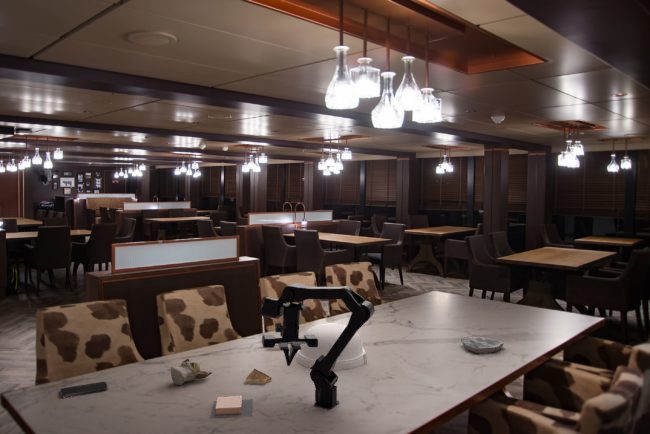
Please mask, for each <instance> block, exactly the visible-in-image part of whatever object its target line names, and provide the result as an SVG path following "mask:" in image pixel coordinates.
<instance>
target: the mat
mask: <svg viewBox="0 0 650 434" xmlns="http://www.w3.org/2000/svg"><path fill="white" fill-rule="evenodd" d="M253 402H254V400H253V399H252V398H251V399H250V398H249V399H242V409H241V413H240V414H222V415H216V404H217V400H214V401H213V404H212V409H211V413H210V414H211V415H210V419H223V418H241V417H242V418H243V417H244V418H245V417H253V407H254V406H253Z"/></svg>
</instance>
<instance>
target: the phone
mask: <svg viewBox="0 0 650 434" xmlns="http://www.w3.org/2000/svg"><path fill="white" fill-rule="evenodd" d="M59 389H60V390H59V397H66V398H70V397H69V396H72V397H78V396H83V395H90V394H95V393H100V392H101V393H103V392H106V391H108V384H107V382H106V381H100V382H94V383H87V384H86V383H85V384H81V385H75V386H67V387H62V388H59ZM77 395H78V396H77Z"/></svg>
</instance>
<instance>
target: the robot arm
mask: <svg viewBox="0 0 650 434" xmlns="http://www.w3.org/2000/svg"><path fill="white" fill-rule="evenodd" d="M307 300H341V302H343V303H344V306H346V308H347V309H348V310H349V312H351V315H350V317H349V319H348V321H347V322H348V323H347V325H346V328H345V329H344V331H343V332H342V333H341V335H340V336H339V338H338V339H337V341H336V342H335V343H334V345H333V346H332V348H331V349H330V351H329V352H328V353H327V355H326V356H324V355H323V354H322V355H321V356H320V357H318V358H317V359H316V361H315V363H314V365H313V366H312V367H311V368H309V369H310V372H309V377H310V379H311V381H312V382H313V384H314V388H315V390H314V391H315V392H314V403H313V406H315V407H318V408H319V407H320V408H324V409H328V410H331V409H333V408H334V407H335V406H337V405H338V404H339V403H340V401H339V400H338V390H337V389H338V386H337V385H336V384H337V382H338V379H339V376H338V375H337V373H336V372H335V370H333V369H334V367H335V364H336V361H337V359H338V358H339V356H340V355H341V353H342V352H343V350H344V349H345V348H346V346H347V345H348V343H349V342H350V341H351V339H352V338H353V336H354V335H355V333H356V332H357V333H358V331H359V330H360V329H361V327H362V326H364V325H365V324H366V323H367V322H369V320H370V319H371V318H372V316H374V314H375V310H376V309H375V306H374V304H373V303H372V302H370V301H368V300H366V299H365V297H364V296H362V295H360V294H358V293H357V292H356V291H354V290H353V289H352V287H350V286H349V285H345V286H309V285H306V284H304V283H298V282H297V283H296V282H295V283H291V284H289V285H287V286H285V287H284V288H283V290H282V292H281V295H280V296H279V298H272V297H269V296H267V297H264V301H263V303H262V305H261V309H260V314H261V317H264V318H270V319H275V320H279V319H280V318H281V317H282V323H281V322H275V326H274V330H275V333H280V337H275V335H274V334H263V335H262V337H261V345H262V348H264V349H267V348H268V349H270V348H271V349H273V348H274V347H275V346H276V345H277V344H278V348H279V350H280V351H283V353H284V357H285V362H286V366H288V367H289V366H291V364H292V362H293V361H294V358H295V357H296V356H297V352H298V350H301V344H305V343H307V345H308V346H309V347H318V339H317V338H316V336H315V335H304V334H303V335H304V338H302V337H299V336H300V334H299V333H300V322H301V320H300V318H301V311H304V310H306V309H307V306H306V304H304V302H303V301H307ZM289 344H290V347H289V346H288V345H289Z"/></svg>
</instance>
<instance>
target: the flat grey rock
mask: <svg viewBox="0 0 650 434" xmlns="http://www.w3.org/2000/svg"><path fill="white" fill-rule="evenodd" d="M460 342H461V343H462V345H463V346H464V348H465V350H467V351H469V352H471V353H474V354H479V355H481V354H490V353H495V352H497V351H499V350H501V349H502V348H503V346H504V341H502V340H498V339H495V338H492V337H491V338H489V337H481V336H468V337H467V338H466V337H464V338H461V339H460Z"/></svg>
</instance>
